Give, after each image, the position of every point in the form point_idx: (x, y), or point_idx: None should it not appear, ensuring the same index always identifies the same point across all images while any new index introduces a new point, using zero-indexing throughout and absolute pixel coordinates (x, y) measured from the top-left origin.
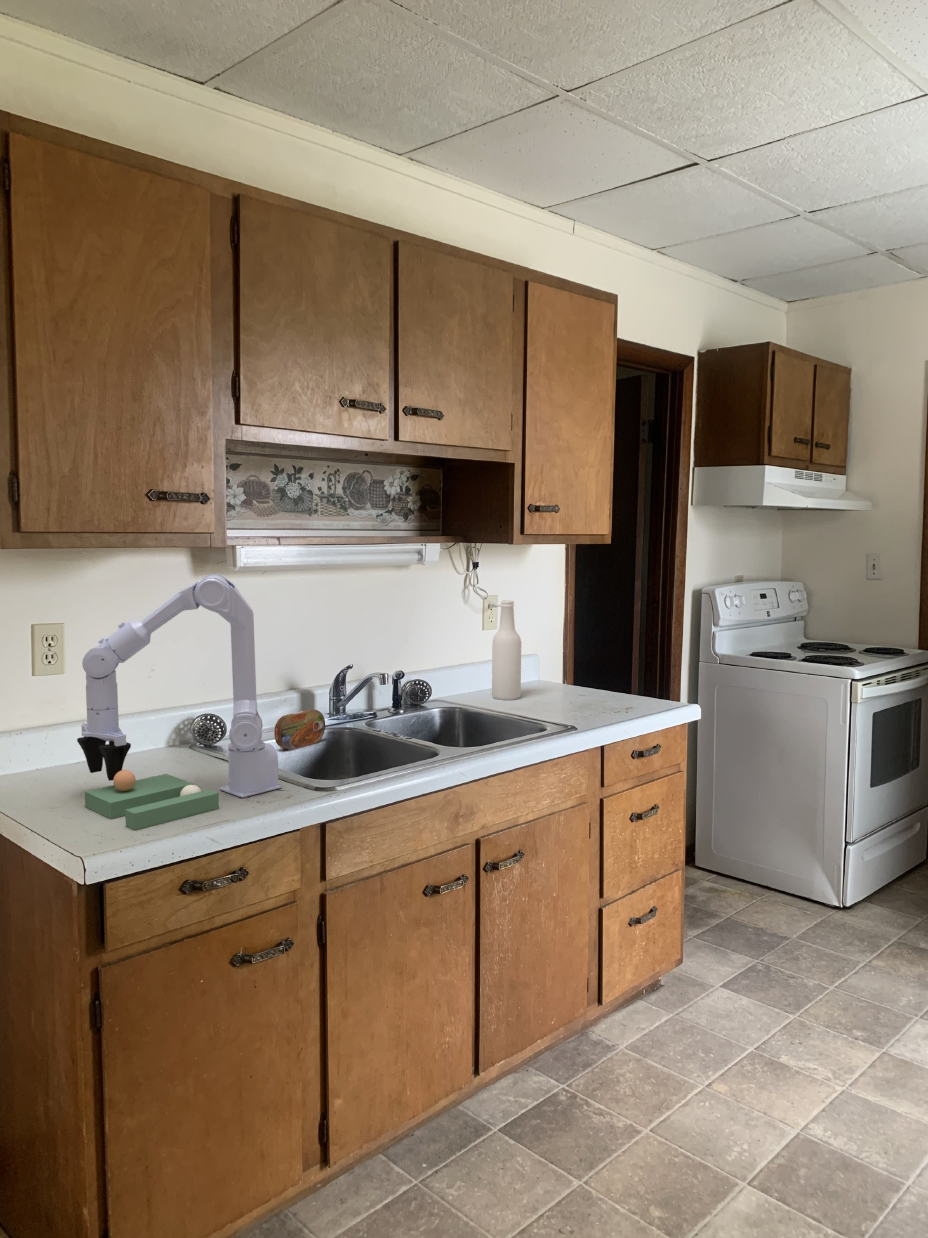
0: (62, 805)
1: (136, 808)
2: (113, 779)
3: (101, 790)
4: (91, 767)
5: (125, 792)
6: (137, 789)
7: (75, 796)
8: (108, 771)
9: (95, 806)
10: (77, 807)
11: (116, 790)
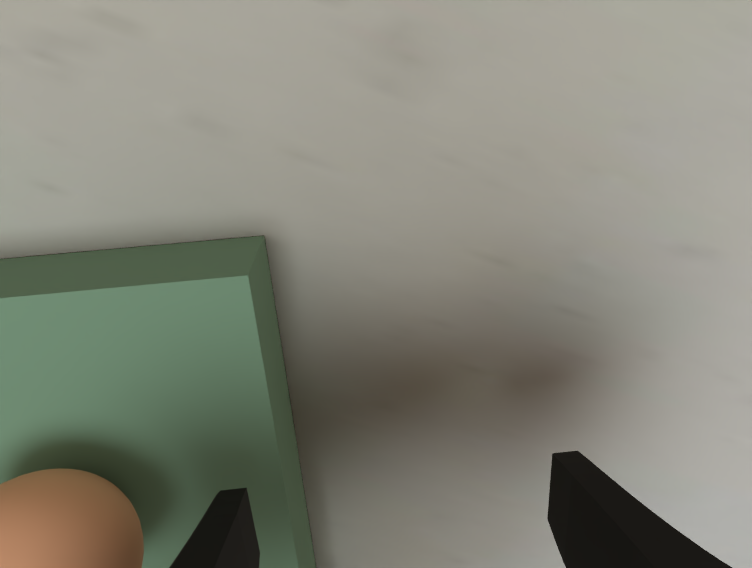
0: (411, 127)
1: None
2: (50, 515)
3: (192, 382)
4: (574, 490)
5: None
6: None
7: (547, 269)
8: (180, 554)
9: (83, 262)
10: (292, 192)
11: (126, 460)
